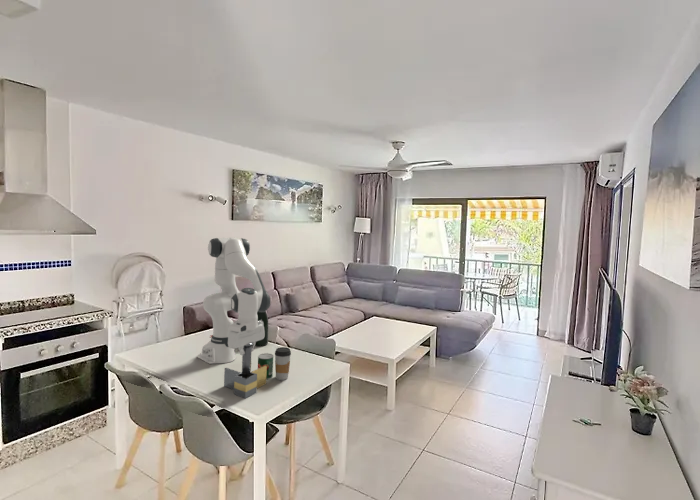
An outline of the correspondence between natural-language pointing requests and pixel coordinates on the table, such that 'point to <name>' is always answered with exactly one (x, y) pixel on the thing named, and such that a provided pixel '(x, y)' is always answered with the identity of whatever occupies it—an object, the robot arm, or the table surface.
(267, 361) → the canned tomato
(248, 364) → the hinge pin
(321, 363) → the table surface
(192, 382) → the table surface
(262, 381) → the hinge leaves
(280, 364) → the coffee cup
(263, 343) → the green wine bottle
